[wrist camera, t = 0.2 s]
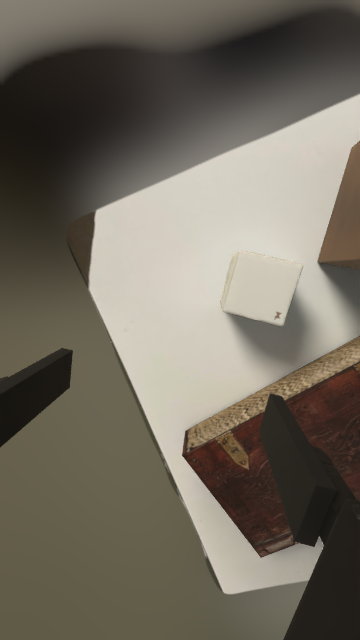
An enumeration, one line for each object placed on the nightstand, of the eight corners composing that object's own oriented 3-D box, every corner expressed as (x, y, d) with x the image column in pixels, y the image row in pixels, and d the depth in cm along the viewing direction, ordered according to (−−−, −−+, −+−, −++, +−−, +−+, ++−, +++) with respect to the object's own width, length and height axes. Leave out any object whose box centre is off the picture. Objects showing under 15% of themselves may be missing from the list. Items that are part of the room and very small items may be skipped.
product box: (281, 265, 29) (306, 264, 22) (266, 314, 30) (284, 328, 23) (231, 253, 29) (239, 248, 22) (218, 302, 30) (221, 312, 23)
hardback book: (255, 523, 37) (262, 562, 32) (185, 429, 35) (182, 455, 30) (455, 440, 31) (501, 472, 26) (385, 320, 29) (421, 330, 24)
